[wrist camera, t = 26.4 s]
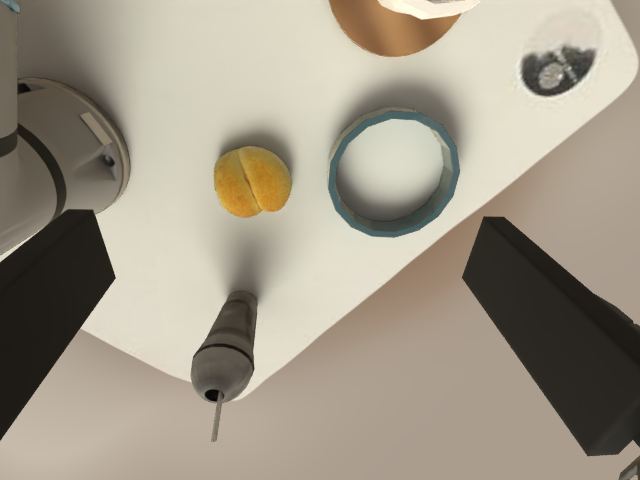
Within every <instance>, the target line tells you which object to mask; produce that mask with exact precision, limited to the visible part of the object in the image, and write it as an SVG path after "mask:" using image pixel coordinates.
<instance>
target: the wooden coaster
mask: <svg viewBox="0 0 640 480" xmlns="http://www.w3.org/2000/svg"><path fill="white" fill-rule="evenodd" d="M329 3H330V6H331V9H332V12H333V14H334V16H335V19H336V21H337V22H338V24H339V26H340V27H341V29H342V30H343V31H344V33H345V34H346V35H347V36H348V37H349V38H350V39H351V40H352V41H353V42H354V43H355V44H357V45H358V46H359V47H361V48H362V49H364V50H366V51H368V52H370V53H373V54H376V55H380V56H386V57H399V56H406V55H410V54H413V53H417V52H419V51H421V50H423V49H425V48H427V47H429V46H430V45H432V44H434V43H435V42H436V41H437V40H439V39H440V38H441V37H442V36H443V35H444V34H445V33H446V32H447V31H448V30H449V29H450V28H451V27H452V26H453V24H454V23H455V22H456V21H457V19H458V18H459V16H460V15H461V13H460V14H457V15H454V16H447V17H439V18H431V19H423V20H422V19H419V18H417V17H415V16H413V15H411V14H405V13H398V12H395V11H392V10H390V9H388V8H386V7H383V6H381V4H380V3H379V2H378V0H329Z"/></svg>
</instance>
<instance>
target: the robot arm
mask: <svg viewBox="0 0 640 480" xmlns="http://www.w3.org/2000/svg"><path fill="white" fill-rule="evenodd" d="M17 13H20V7H19V5H18V3H17V2H16V0H0V255H2V254H3V253H5V252H6V251H8V250H10V249H11V248H13V247H14V246H16V245H17V244H19V243H20V242H22V241H24V240H25V239H27V238H28V237H30V236H31V235H33V234H34V233H36V232H38V231H39V230H40V231H39V232H38V233H37V234H35V235H34V236H33V237H32V238H30V239H29V240H28V241H26V242H25V243H24V244H23V245H21V246H20V247H19V248H18V249H16V250H15V251H14V252H13V253H11V254H10V255H9V256H8V257H6V258H5V259H4V260H2V261H1V262H0V440H1V439H2V437H3V436H4V435H5V433H6V432H7V430H8V429H9V428H10V426H11V425H12V423H13V422H14V421H15V419H16V418H17V416H18V415H19V413H20V412H21V411H22V409H23V408H24V406H25V405H26V404H27V402H28V401H29V399H30V398H31V397H32V395H33V394H34V392H35V391H36V390H37V388H38V387H39V385H40V384H41V382H42V381H43V380H44V378H45V377H46V376H47V374H48V373H49V371H50V370H51V368H52V367H53V366H54V364H55V363H56V361H57V360H58V358H59V357H60V356H61V354H62V353H63V352H64V350H65V349H66V347H67V346H68V345H69V343H70V342H71V340H72V339H73V337H74V336H75V334H76V333H77V332H78V330H79V329H80V328H81V326H82V325H83V323H84V322H85V321H86V319H87V318H88V316H89V315H90V314H91V312H92V311H93V309H94V308H95V307H96V305H97V304H98V302H99V301H100V299H101V298H102V297H103V295H104V294H105V292H106V291H107V290H108V288H109V287H110V285H111V284H112V283H113V281H114V280H115V278H116V277H115V274H114V271H113V268H112V265H111V262H110V259H109V256H108V253H107V250H106V247H105V244H104V241H103V238H102V235H101V232H100V229H99V226H98V223H97V219H96V216H95V214H97V213H100V212H101V211H103V210H105V209H106V208H107V207H109V206H110V205H112V204H113V203H114V202H116V201H117V200H118V199H119V198H120V196H121V195H122V194H123V192H124V191H125V188H126V186H127V183H128V180H129V174H130V162H129V156H128V152H127V148H126V146H125V143H124V141H123V138H122V136H121V134H120V133H119V131H118V129H117V128H116V126H115V125H114V123H113V122H112V120H111V119H110V118H109V117H108V115H107V114H106V113H105V112H104V111H103V110H102V109H101V108H100V107H99V106H98V105H97V104H95V103H94V102H93V101H92V100H91V99H89V98H88V97H86V96H85V95H84V94H82V93H80V92H79V91H77V90H75V89H73V88H71V87H69V86H67V85H64V84H62V83H59V82H56V81H52V80H48V79H40V78H27V79H17ZM42 228H43V229H42ZM41 229H42V230H41ZM462 278H463V280H464V281H465V283H466V284H467V286H468V287H469V288H470V290H471V291H472V293H473V294H474V296H475V297H476V298H477V300H478V301H479V303H480V304H481V305H482V307H483V308H484V310H485V311H486V313H487V314H488V315H489V317H490V318H491V320H492V321H493V322H494V324H495V325H496V327H497V328H498V330H499V331H500V332H501V334H502V335H503V337H505V339H506V341H507V342H508V344H509V345H510V346H511V348H512V349H513V351H514V352H515V353H516V355H517V356H518V358H519V359H520V361H521V362H522V364H523V365H524V366H525V368H526V369H527V371H528V372H529V373H530V375H531V376H532V378H533V379H534V381H535V382H536V383H537V385H538V386H539V388H540V389H541V390H542V392H543V393H544V395H545V396H546V398H547V399H548V400H549V402H550V403H551V405H552V406H553V408H554V409H555V410H556V412H557V413H558V415H559V416H560V417H561V419H562V420H563V422H564V423H565V425H566V426H567V427H568V429H569V430H570V432H571V433H572V434H573V436H574V437H575V439H576V440H577V442H578V443H579V444H580V446H581V447H582V449H583V450H584V451H585V453H586V454H587V456H599V455H616V454H619V453H620V452H621V451H622V450H623V449H624V448H625V447H626V446H627V445H628V444H629V443H630V442H631V441H632V440H634V441H635V443H636V444H637V445H638V446H639V447H640V326H639V325H637V324H634V323H633V320H631V319H630V318H629V317H628V316H627V315H625V314H624V313H623V312H622V311H621V310H620V309H618V308H617V307H616V306H614V305H612V304H611V303H609V302H607V301H605V300H604V299H602V298H600V297H599V296H597V295H595V294H593V293H592V292H591V291H590V290H589V289H588V288H586V287H585V286H584V285H583V284H582V283H581V282H579V281H578V280H577V279H576V278H575V277H574V276H572V275H571V274H570V273H569V272H568V271H567V270H565V269H564V268H563V267H562V266H561V265H560V264H558V263H557V262H556V261H555V260H554V259H553V258H551V257H550V256H549V255H548V254H547V253H546V252H544V251H543V250H542V249H541V248H540V247H539V246H537V245H536V244H535V243H534V242H533V241H532V240H530V239H529V238H528V237H527V236H526V235H525V234H523V233H522V232H521V231H520V230H519V229H518V228H516V227H515V226H514V225H513V224H512V223H511V222H509V221H508V220H507V219H506V218H505V217H483V220H482V223H481V226H480V228H479V231H478V234H477V237H476V240H475V243H474V245H473V248H472V251H471V254H470V257H469V259H468V262H467V265H466V268H465V270H464V273H463V276H462ZM634 475H638V480H640V456H639V457H638V458H636V459H635V460H634V461H633V462H632V463H631V464H630V465H629V466H628V467H627V468H626V469H624V470H623V471H622V472H621V473H620V477H619V480H630V479H631V478H632V477H633V476H634Z"/></svg>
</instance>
